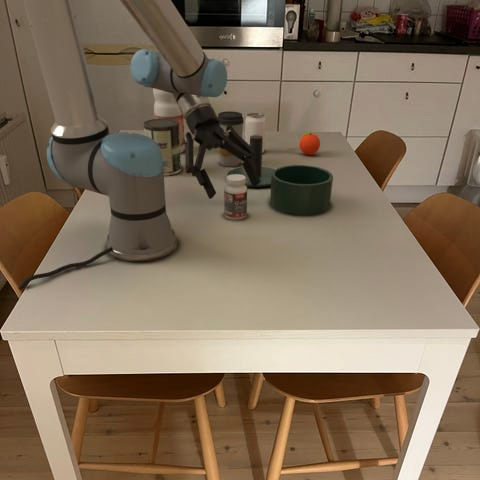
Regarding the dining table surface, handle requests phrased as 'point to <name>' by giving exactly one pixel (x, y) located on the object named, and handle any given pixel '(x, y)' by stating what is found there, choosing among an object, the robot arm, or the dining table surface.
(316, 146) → the clementine
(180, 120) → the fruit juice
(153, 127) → the coffee can
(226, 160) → the coffee cup
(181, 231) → the dining table surface
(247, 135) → the can
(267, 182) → the pot lid
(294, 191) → the pot
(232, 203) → the pill bottle
